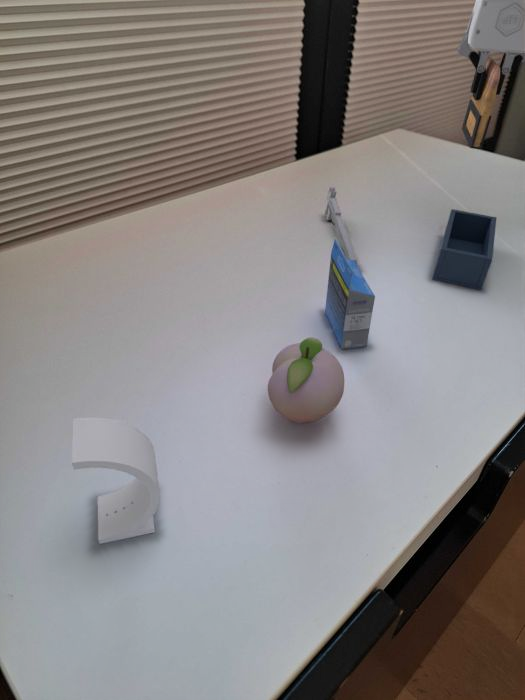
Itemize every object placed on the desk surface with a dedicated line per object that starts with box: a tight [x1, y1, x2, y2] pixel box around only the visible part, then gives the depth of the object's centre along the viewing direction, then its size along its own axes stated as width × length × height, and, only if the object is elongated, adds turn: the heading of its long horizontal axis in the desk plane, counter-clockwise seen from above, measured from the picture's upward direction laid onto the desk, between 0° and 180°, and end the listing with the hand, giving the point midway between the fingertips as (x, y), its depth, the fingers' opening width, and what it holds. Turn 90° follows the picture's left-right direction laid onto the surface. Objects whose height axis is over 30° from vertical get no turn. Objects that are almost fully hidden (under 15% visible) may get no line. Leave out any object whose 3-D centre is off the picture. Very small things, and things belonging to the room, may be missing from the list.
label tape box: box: [324, 236, 376, 350], centre depth 68 cm, size 9×4×12 cm, turn 9°
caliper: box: [324, 187, 359, 268], centre depth 89 cm, size 20×1×6 cm, turn 8°
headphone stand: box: [71, 416, 161, 545], centre depth 45 cm, size 5×6×12 cm
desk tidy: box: [431, 208, 497, 291], centre depth 85 cm, size 8×16×6 cm, turn 158°
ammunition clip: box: [461, 54, 500, 150], centre depth 84 cm, size 11×2×12 cm, turn 171°
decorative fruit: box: [267, 337, 345, 424], centre depth 56 cm, size 9×8×10 cm
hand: (483, 97), depth 84 cm, fingers closed on ammunition clip, 1 cm apart
